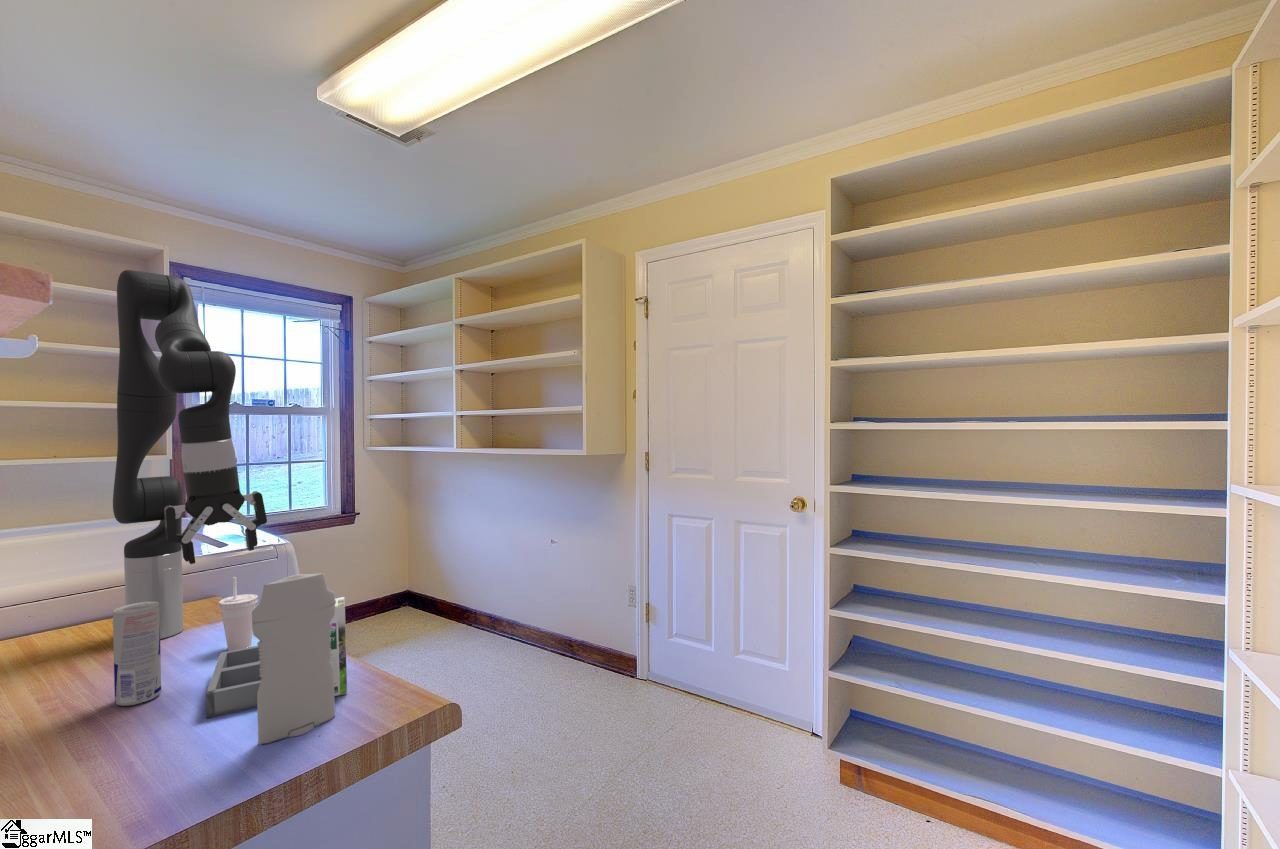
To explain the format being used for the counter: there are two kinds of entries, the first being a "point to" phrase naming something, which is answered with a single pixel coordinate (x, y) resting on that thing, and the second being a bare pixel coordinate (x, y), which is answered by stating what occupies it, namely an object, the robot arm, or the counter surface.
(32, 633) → the counter surface
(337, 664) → the syrup box
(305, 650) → the grey flat bottle
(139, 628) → the beverage can
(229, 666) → the gray divided tray
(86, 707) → the counter surface
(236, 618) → the smoothie
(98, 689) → the counter surface
